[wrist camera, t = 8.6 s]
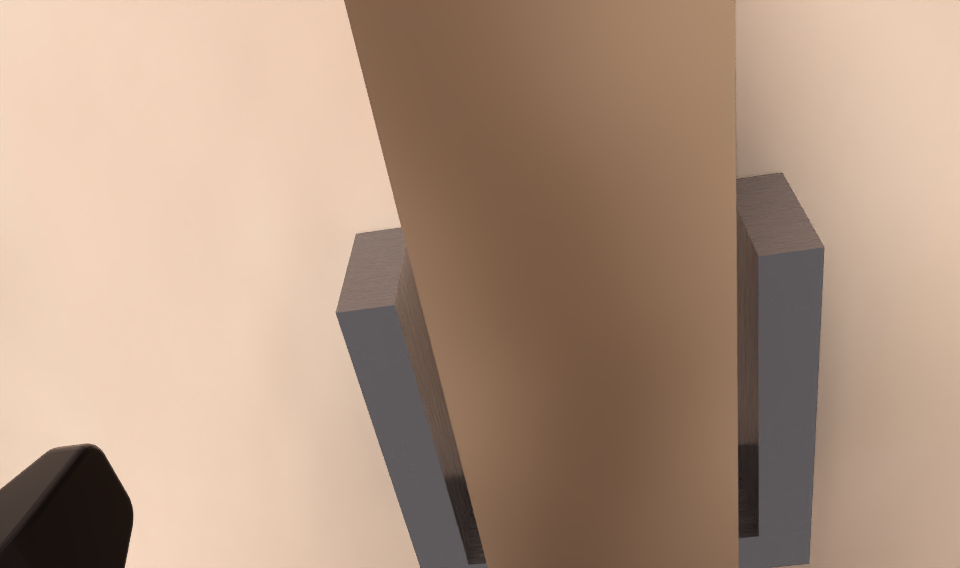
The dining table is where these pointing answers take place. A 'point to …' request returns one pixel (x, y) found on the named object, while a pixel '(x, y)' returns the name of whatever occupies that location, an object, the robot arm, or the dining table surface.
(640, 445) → the walnut top rail
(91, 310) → the dining table surface
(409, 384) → the bracket
